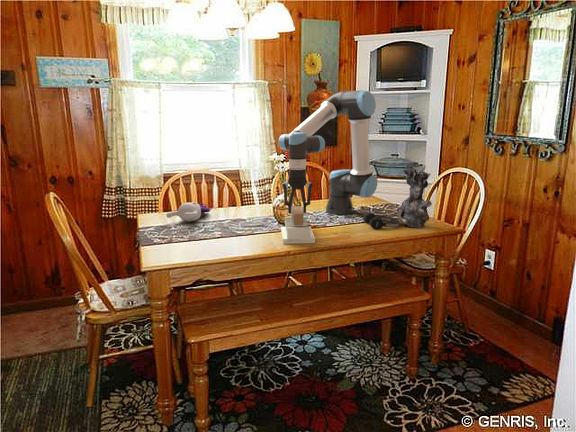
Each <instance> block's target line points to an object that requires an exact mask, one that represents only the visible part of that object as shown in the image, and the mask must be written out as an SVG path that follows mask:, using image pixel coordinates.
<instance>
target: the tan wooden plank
mask: <svg viewBox="0 0 576 432" xmlns="http://www.w3.org/2000/svg"><path fill="white" fill-rule="evenodd" d="M292 206H293V224H294V225H303V212H302V210H301V206H299V205H298V206H297V205H296V206H294V205H292Z"/></svg>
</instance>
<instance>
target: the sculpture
mask: <svg viewBox="0 0 576 432" xmlns="http://www.w3.org/2000/svg"><path fill="white" fill-rule="evenodd" d="M409 166H410V165H409V164H405V165H404V167H405V169H403V172H404V173H405V179H406V184H407V185H408V186H409V195H408V196H409V197H407V198H406V199H405V200H403V201H402V203H401V207H400V210H399V212H398V215H397V219H398V220H399V221H400V222H401V225H402V226H403V227H409V228H414V229H421V228H424V227H425V224H427V222H428V221H429V220H430V215H429V213H428V208H429V207H431V206H432V205H433V204H432V203H433V202H431V200H425V199H423V196H424V191H425V189H427V188H428V187H429V186H428V185H429V182H428V179H429V177H430V176H431V174H432V173H431V172H430V173H429V172H426V171H424V170H425V169H426V165H424V166H422V165H421V166H420V170H419V172H418V171H417V170H416V167H417V166H416V165H415V166H413V165H412V168H411V167H409Z"/></svg>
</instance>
